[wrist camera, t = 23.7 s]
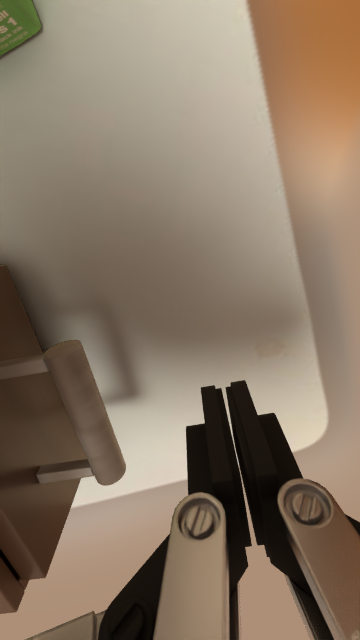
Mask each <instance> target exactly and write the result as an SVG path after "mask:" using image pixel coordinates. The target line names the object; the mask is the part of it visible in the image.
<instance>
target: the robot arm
mask: <svg viewBox="0 0 360 640" xmlns="http://www.w3.org/2000/svg"><path fill="white" fill-rule="evenodd" d="M226 393H227V399H228V406H229V412H230V418H231V424H232V431H233V437H234V443H235V448H236V452H237V457H238V461H239V466H240V470H241V475H242V479H243V484H244V488H245V493H246V497H247V501H248V506H249V510H250V514H251V519H252V524H253V528H254V533H255V537H256V541H257V545H264V546H265V550H266V554H267V557H270V562H271V563H272V564H273V565H274V566H275V567H276V568H278V569H279V570H280V571H281V572H283V573H284V574H285V578H286V581H287V584H288V585H289V588H290V591H291V593H292V596H293V598H294V600H295V603H296V606H297V608H298V610H299V613H300V615H301V618H302V620H303V622H304V625H305V628H306V630H307V632H308V635H309V637H310V640H360V522H358V521H356V520H354V519H352V518H351V517H349V516H347V515H346V514H344V512H343V511H342V509H341V508H340V507H339V505H338V504H337V502H336V501H335V499H334V498H333V496H332V495H331V494H330V493H329V492H328V490H326V488H324V487H323V486H321V485H320V484H318V483H317V482H314V481H311V480H308V479H303V477H302V474H301V472H300V470H299V468H298V465H297V463H296V461H295V459H294V456H293V454H292V451H291V449H290V447H289V445H288V442H287V440H286V438H285V435H284V433H283V431H282V429H281V426H280V424H279V422H278V419H277V417H276V415H275V414H274V413H269V414H263V415H257V412H256V409H255V407H254V404H253V401H252V398H251V395H250V393H249V390H248V387H247V384H246V381H245V380H243V381H237V382H231V387H226ZM201 394H202V403H203V411H204V420H205V424H199V425H192V426H186V443H187V471H188V496H186V497H185V498H184V499H183V500H182V501H180V502H179V504H178V505H177V507H176V508H175V511H174V514H173V517H172V523H171V530H170V534H169V535H168V536H167V537H166V539H165V540H164V541H163V542H162V543H161V545H160V546H159V547H158V548H157V549H156V550H155V552H154V553H153V554H152V555H151V556H150V558H149V559H148V560H147V561H146V563H145V564H144V565H143V566H142V567H141V568H140V569H139V570H138V572H137V573H136V574H135V575H134V576H133V578H132V579H131V580H130V581H129V582H128V584H127V585H126V586H125V587H124V588H123V589H122V591H121V592H120V593H119V594H118V596H116V598H115V599H114V600H113V601H112V603H111V604H110V605H109V607H108V609H107V610H105V611H103V612H100V613H98V614H95V613H94V611H92V612H90V613H88V614H85V615H83V616H80V617H78V618H75V619H73V620H71V621H69V622H66V623H64V624H61V625H59V626H56V627H54V628H52V629H50V630H47V631H45V632H42V633H40V634H38V635H35V636H33V637H30V638H28V639H26V640H241V616H240V586H239V580H240V578H241V577H242V575H243V574H244V572H245V570H246V569H247V567H248V562H247V556H246V550H245V547H248V546H252V544H251V538H250V532H249V526H248V519H247V513H246V506H245V501H244V494H243V488H242V482H241V477H240V471H239V467H238V462H237V458H236V453H235V449H234V444H233V440H232V435H231V430H230V426H229V421H228V417H227V412H226V408H225V403H224V399H223V394H222V390H221V388H219V389H215V385H213V386H207V387H201Z"/></svg>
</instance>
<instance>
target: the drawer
mask: <svg viewBox="0 0 360 640" xmlns="http://www.w3.org/2000/svg"><path fill="white" fill-rule="evenodd" d="M125 470H126V464H125V461H124V458H123V456H122V453H121V450H120V447H119V445H118V442H117V439H116V436H115V434H114V431H113V428H112V425H111V423H110V420H109V417H108V415H107V412H106V409H105V406H104V404H103V401H102V398H101V395H100V393H99V390H98V387H97V384H96V382H95V379H94V376H93V373H92V371H91V368H90V365H89V362H88V360H87V357H86V354H85V351H84V349H83V346H82V343H81V342H80V341H79V340H69V341H64V342H61V343H58V344H56V345H54V346H52V347H51V348H49V349H48V350H47V351H46V352H45V353H44V354H43V352H42V350H41V347H40V345H39V342H38V340H37V338H36V335H35V333H34V331H33V328H32V326H31V324H30V321H29V319H28V317H27V314H26V312H25V310H24V307H23V305H22V303H21V300H20V298H19V296H18V293H17V291H16V289H15V286H14V284H13V282H12V279H11V277H10V275H9V272H8V270H7V268H6V265H0V551H2V552H3V554H4V555H5V556H6V558H7V559H8V561H9V562H10V564H11V565H12V567H13V568H14V569H15V571H16V572H17V574H18V575H19V577H20V578H21V580H31V579H40V578H45V577H46V575H47V573H48V570H49V567H50V564H51V561H52V558H53V556H54V553H55V550H56V547H57V544H58V541H59V539H60V536H61V533H62V530H63V528H64V524H65V522H66V519H67V516H68V514H69V511H70V508H71V505H72V502H73V499H74V497H75V494H76V491H77V488H78V485H79V483H80V480H81V478H83V477H90V476H95V478H96V480H97V482H98V483H99V484H101V485H111V484H114V483H115V482H117V481H118V480H120V479H121V478H122V476H123V475H124V473H125Z"/></svg>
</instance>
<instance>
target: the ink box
mask: <svg viewBox="0 0 360 640" xmlns="http://www.w3.org/2000/svg"><path fill="white" fill-rule="evenodd" d="M40 29H41V23H40V21H39V18H38V15H37V13H36V10H35V8H34V5H33V2H32V0H0V56H1V55H2V54H4V53H6V52H8V51H9V50H11V49H13V48H14V47H16V46H18V45H19V44H21V43H22V42H24V41H25V40H27V39H28V38H30V37H31V36H33V35H34V34H36V33H37V32H38V31H39V30H40Z"/></svg>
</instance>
